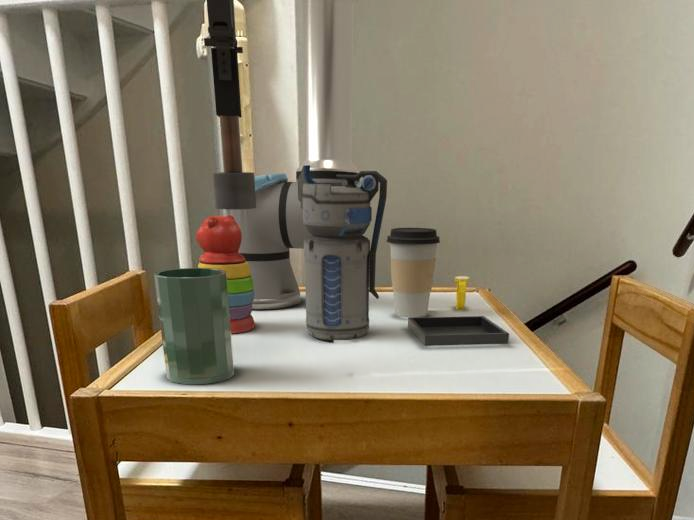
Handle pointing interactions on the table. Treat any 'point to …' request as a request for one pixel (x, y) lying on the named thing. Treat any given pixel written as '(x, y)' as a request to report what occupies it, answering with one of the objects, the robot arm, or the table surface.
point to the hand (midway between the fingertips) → (229, 115)
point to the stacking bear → (229, 266)
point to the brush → (233, 171)
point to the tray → (457, 330)
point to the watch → (461, 291)
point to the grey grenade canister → (340, 252)
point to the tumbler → (195, 324)
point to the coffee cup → (412, 269)
